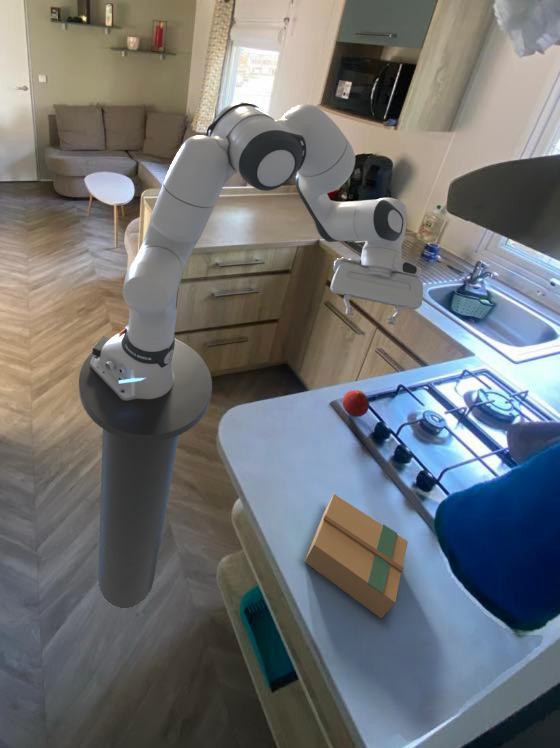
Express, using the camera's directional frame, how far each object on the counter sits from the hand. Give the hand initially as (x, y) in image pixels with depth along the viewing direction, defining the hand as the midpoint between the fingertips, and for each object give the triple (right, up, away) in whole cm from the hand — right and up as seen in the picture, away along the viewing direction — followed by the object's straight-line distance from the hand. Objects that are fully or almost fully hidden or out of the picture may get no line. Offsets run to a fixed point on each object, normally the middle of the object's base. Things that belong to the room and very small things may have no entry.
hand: (369, 319), depth 101 cm
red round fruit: (-4, -23, +2) cm, 24 cm away
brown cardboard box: (-16, -39, -26) cm, 49 cm away
